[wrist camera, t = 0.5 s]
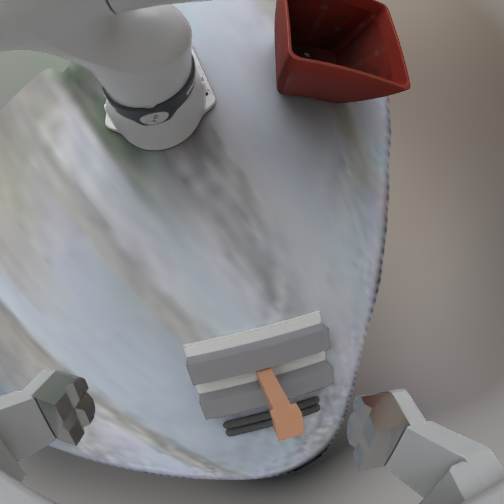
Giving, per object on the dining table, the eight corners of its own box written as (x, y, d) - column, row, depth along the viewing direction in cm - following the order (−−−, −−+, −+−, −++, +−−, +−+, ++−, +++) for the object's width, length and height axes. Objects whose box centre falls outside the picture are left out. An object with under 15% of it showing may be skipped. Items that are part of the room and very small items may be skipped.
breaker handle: (250, 364, 47) (274, 420, 31) (270, 358, 47) (301, 412, 31) (254, 382, 47) (278, 440, 31) (274, 377, 48) (304, 432, 32)
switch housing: (183, 344, 46) (182, 354, 42) (317, 310, 50) (326, 316, 46) (208, 415, 48) (209, 428, 44) (326, 382, 52) (334, 392, 48)
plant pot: (347, 45, 46) (388, 4, 30) (357, 121, 48) (412, 90, 31) (259, 28, 43) (281, -28, 26) (259, 107, 44) (289, 58, 28)
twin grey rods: (221, 420, 48) (222, 425, 47) (317, 394, 52) (320, 398, 50) (226, 433, 49) (227, 438, 47) (318, 407, 52) (321, 411, 50)
